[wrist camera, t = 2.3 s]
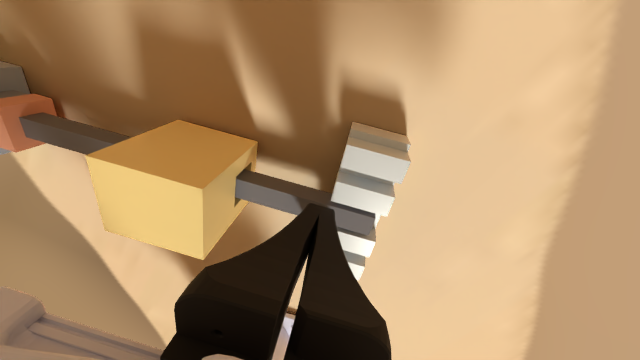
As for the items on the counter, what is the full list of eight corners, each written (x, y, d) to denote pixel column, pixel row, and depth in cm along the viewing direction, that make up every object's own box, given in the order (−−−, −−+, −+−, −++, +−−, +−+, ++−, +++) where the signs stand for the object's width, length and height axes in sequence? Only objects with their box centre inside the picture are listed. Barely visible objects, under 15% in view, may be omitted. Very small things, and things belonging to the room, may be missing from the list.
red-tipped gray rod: (378, 189, 15) (380, 215, 12) (365, 224, 16) (364, 253, 14) (14, 88, 16) (-46, 95, 13) (29, 128, 17) (-24, 140, 15)
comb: (358, 254, 18) (357, 284, 16) (317, 242, 18) (310, 270, 16) (406, 135, 14) (414, 153, 11) (352, 121, 14) (349, 136, 12)
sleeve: (252, 197, 17) (203, 260, 12) (181, 176, 17) (104, 230, 12) (258, 141, 15) (202, 189, 10) (178, 119, 15) (85, 155, 10)
